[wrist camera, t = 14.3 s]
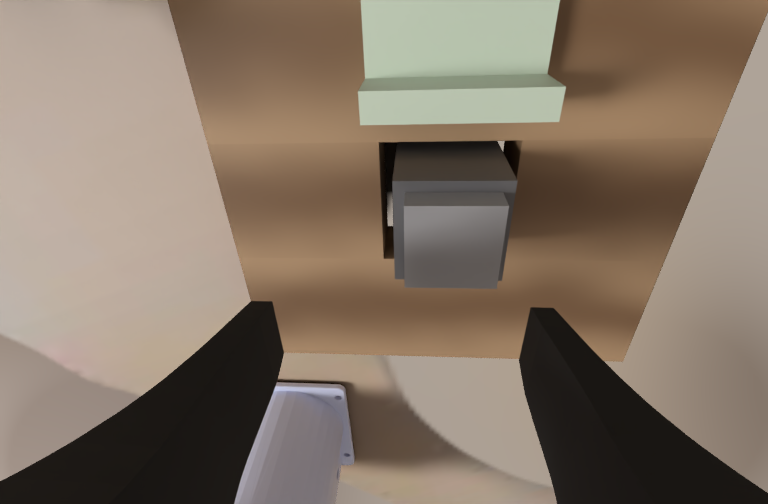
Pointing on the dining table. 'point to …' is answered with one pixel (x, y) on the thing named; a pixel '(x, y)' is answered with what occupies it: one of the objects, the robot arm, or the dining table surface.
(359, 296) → the socket board
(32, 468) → the robot arm
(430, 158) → the plug
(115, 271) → the dining table surface
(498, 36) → the pale green notched block
